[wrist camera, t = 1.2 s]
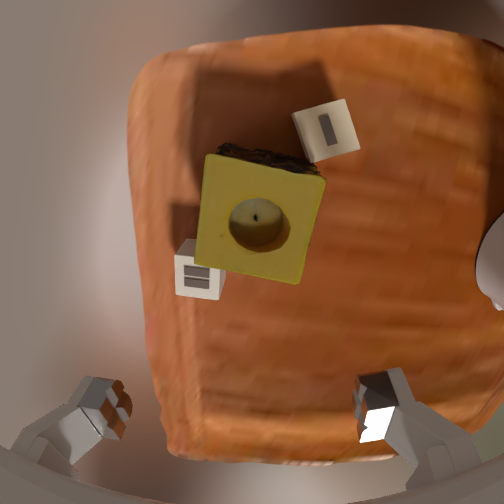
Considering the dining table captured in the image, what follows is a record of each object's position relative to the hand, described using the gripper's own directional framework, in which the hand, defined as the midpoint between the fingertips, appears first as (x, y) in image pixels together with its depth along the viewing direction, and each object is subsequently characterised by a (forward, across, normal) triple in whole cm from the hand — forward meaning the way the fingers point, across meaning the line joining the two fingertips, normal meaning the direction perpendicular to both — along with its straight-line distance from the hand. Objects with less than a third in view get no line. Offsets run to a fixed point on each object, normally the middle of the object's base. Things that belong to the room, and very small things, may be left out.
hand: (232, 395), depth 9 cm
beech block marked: (+27, -7, -7) cm, 29 cm away
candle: (+27, 0, -1) cm, 27 cm away
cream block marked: (+27, +7, +7) cm, 29 cm away
